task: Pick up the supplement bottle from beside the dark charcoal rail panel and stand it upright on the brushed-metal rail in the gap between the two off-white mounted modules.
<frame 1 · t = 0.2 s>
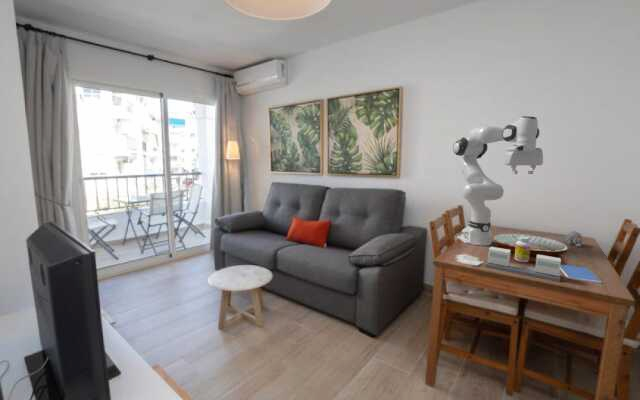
hand: (522, 174, 161), 47 cm above the table, fingers open, 8 cm apart
DIN rail: (521, 267, 150), on the rail panel, point 2 cm above the table
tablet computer: (577, 275, 147), on the table
rail panel: (521, 270, 150), on the table
supplement bottle: (521, 260, 165), on the table
mounted modules: (522, 260, 149), on the DIN rail, point 5 cm above the table
hippopotamus figurine: (574, 245, 194), on the table
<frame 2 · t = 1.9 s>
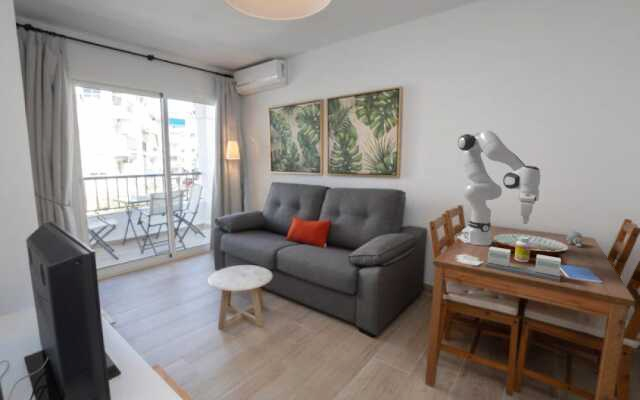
hand: (525, 222, 162), 21 cm above the table, fingers open, 8 cm apart
nothing on the table moved.
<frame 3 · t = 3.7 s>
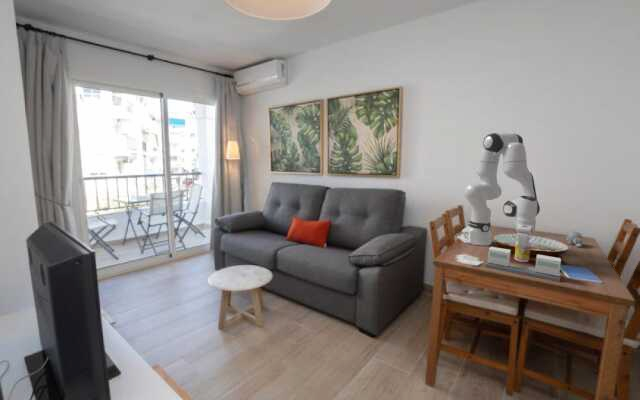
hand: (522, 251, 164), 5 cm above the table, fingers closed on supplement bottle, 7 cm apart
supplement bottle: (521, 260, 165), on the table, touching gripper
everything else where it was.
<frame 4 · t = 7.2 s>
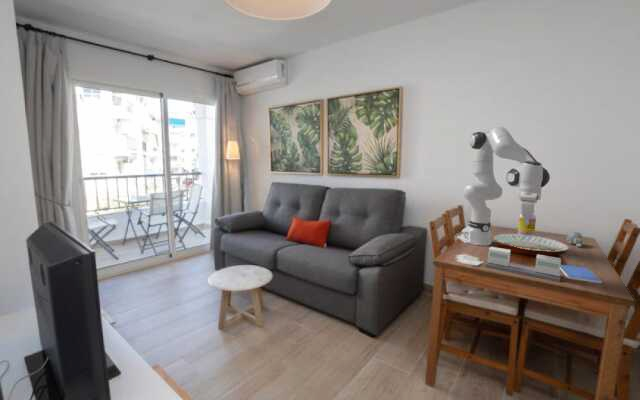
hand: (526, 223, 147), 24 cm above the table, fingers closed on supplement bottle, 7 cm apart
supplement bottle: (525, 235, 148), point 18 cm above the table, touching gripper
everything else where it was.
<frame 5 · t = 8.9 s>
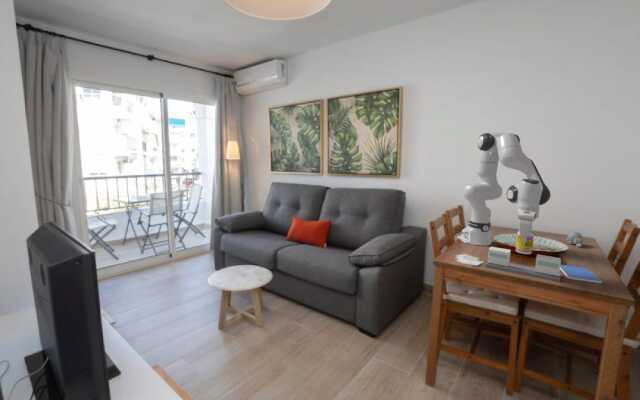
hand: (524, 240, 148), 15 cm above the table, fingers closed on supplement bottle, 7 cm apart
supplement bottle: (523, 252, 149), point 9 cm above the table, touching gripper
everything else where it was.
when the fingers open (8 cm above the table, at t = 10.7 s): supplement bottle stays where it is, resting on DIN rail.
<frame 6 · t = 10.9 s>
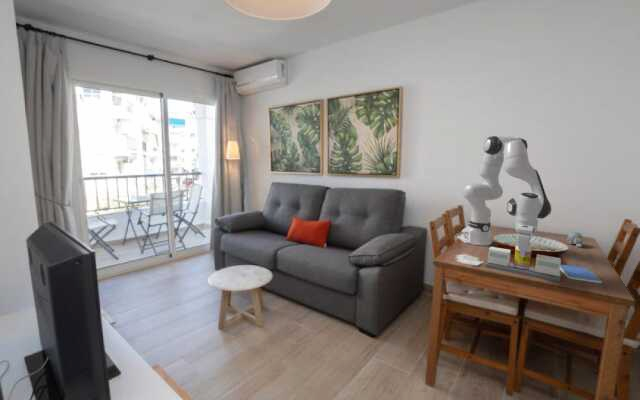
hand: (523, 254, 149), 9 cm above the table, fingers open, 8 cm apart
supplement bottle: (521, 267, 150), point 2 cm above the table, touching DIN rail
everything else where it was.
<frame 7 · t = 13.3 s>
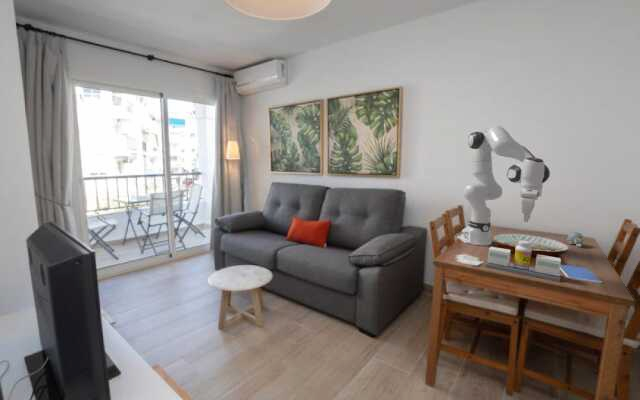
hand: (526, 219, 148), 25 cm above the table, fingers open, 8 cm apart
nothing on the table moved.
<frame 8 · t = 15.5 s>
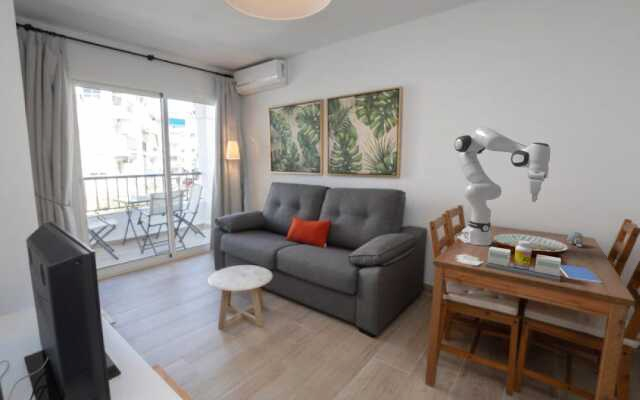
hand: (534, 200, 159), 33 cm above the table, fingers open, 8 cm apart
nothing on the table moved.
at the end: supplement bottle 0.2 cm off-centre on the rail panel, point 1.7 cm above the rail panel's base; supplement bottle tilted 0°; the gripper is holding nothing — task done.
